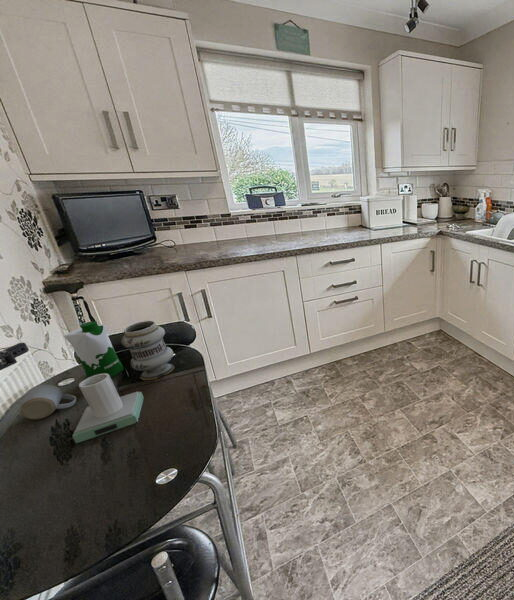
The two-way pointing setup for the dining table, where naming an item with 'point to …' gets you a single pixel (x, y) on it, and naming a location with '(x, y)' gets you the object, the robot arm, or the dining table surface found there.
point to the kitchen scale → (109, 418)
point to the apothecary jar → (148, 349)
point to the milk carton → (95, 349)
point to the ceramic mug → (44, 401)
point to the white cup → (101, 395)
